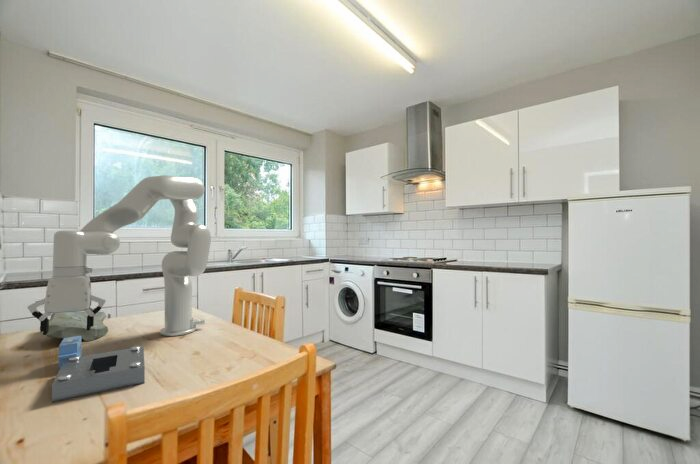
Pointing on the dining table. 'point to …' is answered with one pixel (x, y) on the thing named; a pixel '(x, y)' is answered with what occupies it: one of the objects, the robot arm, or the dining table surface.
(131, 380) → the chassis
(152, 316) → the dining table surface
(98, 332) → the stone
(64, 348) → the servo
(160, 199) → the robot arm
